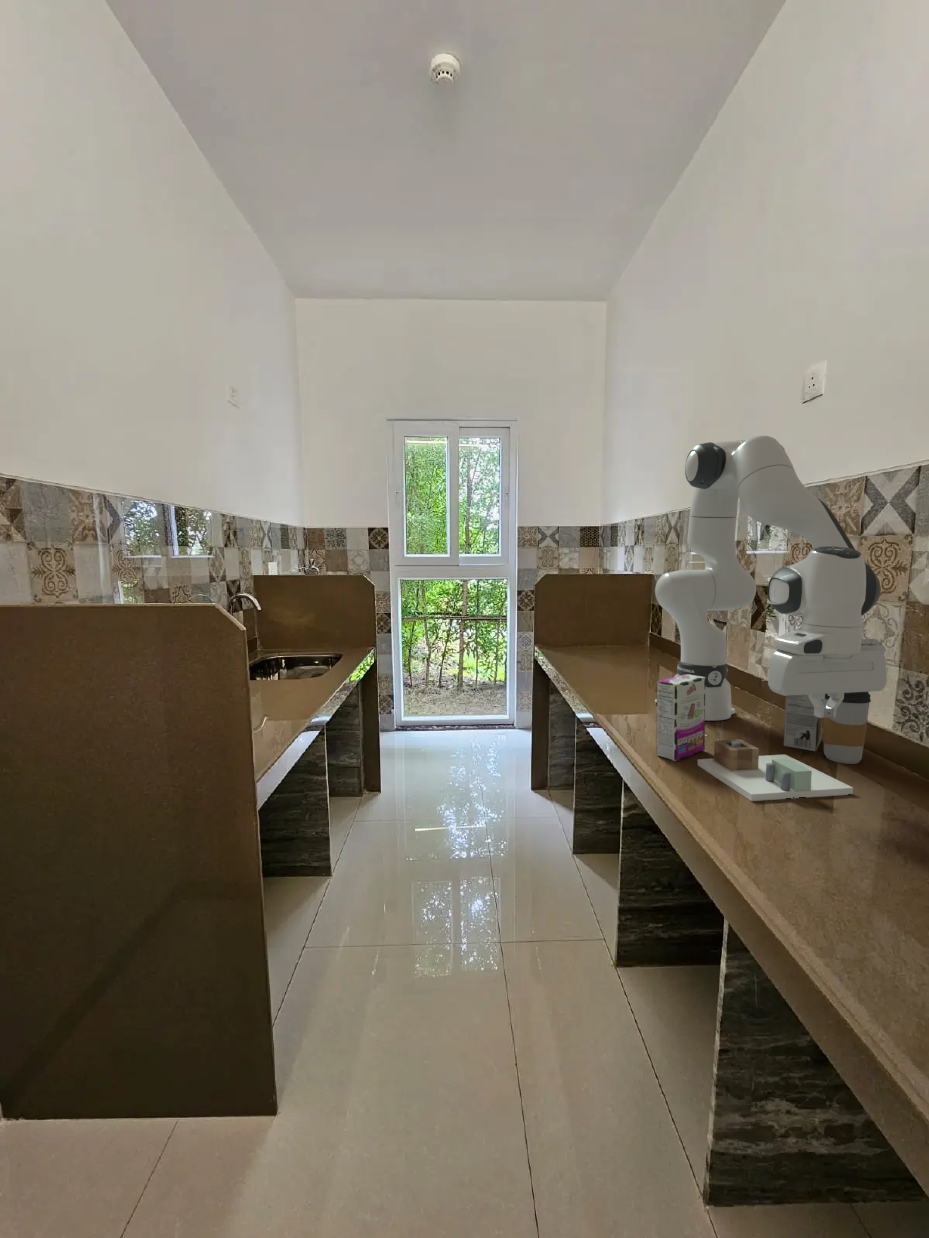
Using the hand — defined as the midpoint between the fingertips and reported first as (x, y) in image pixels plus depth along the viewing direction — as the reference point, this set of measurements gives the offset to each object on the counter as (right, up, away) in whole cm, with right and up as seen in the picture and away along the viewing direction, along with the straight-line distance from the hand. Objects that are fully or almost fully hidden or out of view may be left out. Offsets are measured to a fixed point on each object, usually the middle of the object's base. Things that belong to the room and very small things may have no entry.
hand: (824, 716), depth 96 cm
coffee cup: (+14, -12, +15) cm, 23 cm away
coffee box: (+12, -11, +25) cm, 30 cm away
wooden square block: (-11, -11, +9) cm, 18 cm away
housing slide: (-6, -12, 0) cm, 13 cm away
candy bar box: (-18, -12, +20) cm, 29 cm away
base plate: (-7, -13, +5) cm, 15 cm away
